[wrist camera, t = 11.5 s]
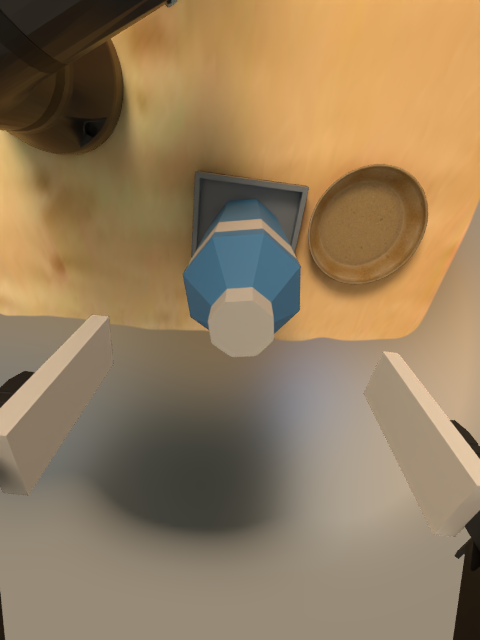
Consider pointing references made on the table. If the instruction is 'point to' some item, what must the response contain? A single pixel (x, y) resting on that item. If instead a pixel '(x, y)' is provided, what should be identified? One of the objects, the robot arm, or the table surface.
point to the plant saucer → (368, 224)
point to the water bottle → (243, 279)
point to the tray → (223, 188)
